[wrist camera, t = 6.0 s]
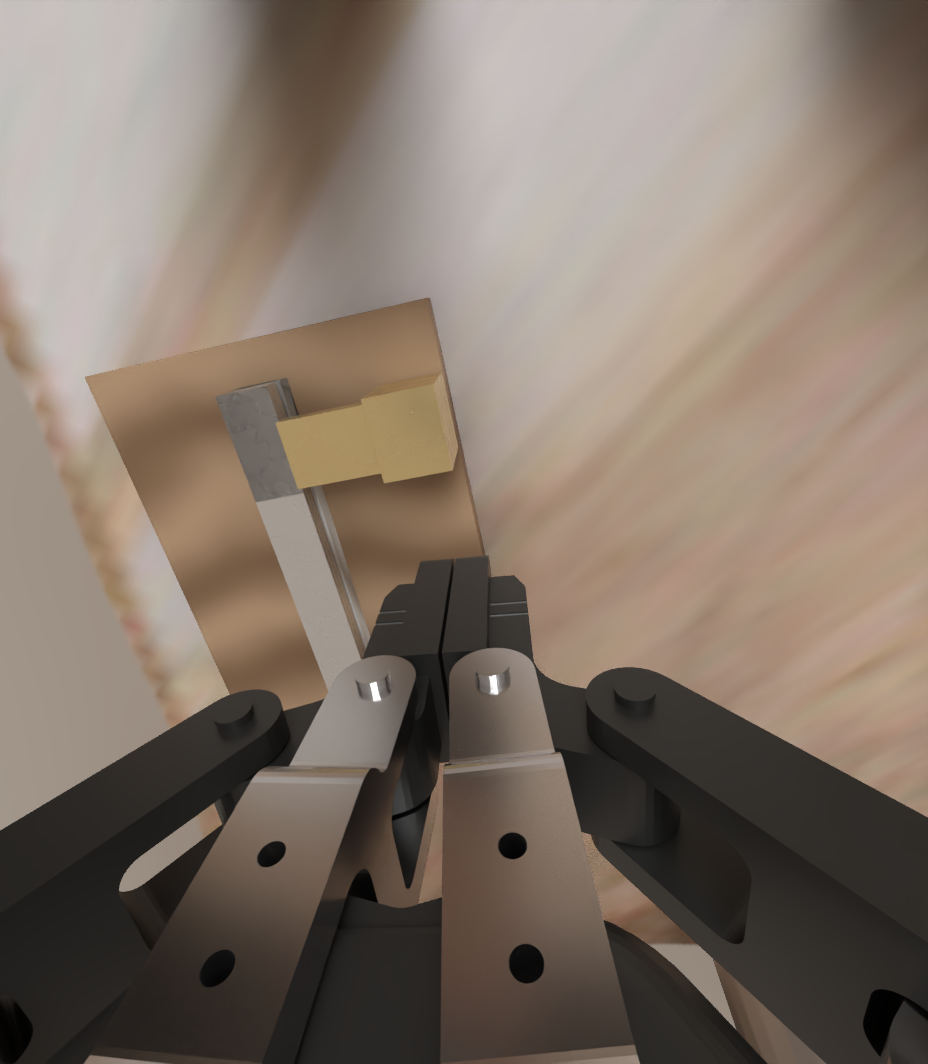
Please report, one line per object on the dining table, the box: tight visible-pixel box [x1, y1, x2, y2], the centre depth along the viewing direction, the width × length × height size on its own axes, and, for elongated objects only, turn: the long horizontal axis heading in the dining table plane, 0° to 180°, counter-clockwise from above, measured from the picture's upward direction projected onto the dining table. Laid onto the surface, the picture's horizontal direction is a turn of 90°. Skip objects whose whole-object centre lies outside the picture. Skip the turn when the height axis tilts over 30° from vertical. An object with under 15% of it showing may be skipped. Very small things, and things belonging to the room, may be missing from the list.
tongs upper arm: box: [215, 382, 365, 691], centre depth 28 cm, size 20×2×1 cm, turn 12°
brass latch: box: [276, 372, 458, 489], centre depth 25 cm, size 4×7×4 cm, turn 102°
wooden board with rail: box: [85, 298, 485, 711], centre depth 29 cm, size 24×17×4 cm
